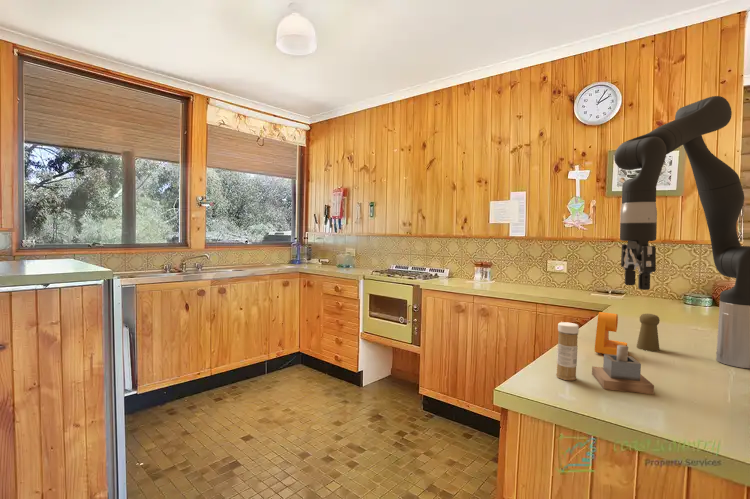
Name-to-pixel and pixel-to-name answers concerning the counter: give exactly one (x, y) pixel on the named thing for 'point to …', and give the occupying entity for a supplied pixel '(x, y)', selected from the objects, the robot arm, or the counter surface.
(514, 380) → the counter surface
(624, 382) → the wooden peg stand
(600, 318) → the bracket
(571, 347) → the sprinkles bottle
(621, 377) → the collar
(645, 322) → the olive pawn shape
